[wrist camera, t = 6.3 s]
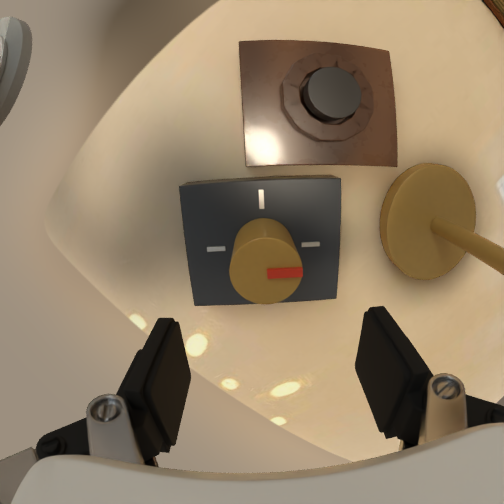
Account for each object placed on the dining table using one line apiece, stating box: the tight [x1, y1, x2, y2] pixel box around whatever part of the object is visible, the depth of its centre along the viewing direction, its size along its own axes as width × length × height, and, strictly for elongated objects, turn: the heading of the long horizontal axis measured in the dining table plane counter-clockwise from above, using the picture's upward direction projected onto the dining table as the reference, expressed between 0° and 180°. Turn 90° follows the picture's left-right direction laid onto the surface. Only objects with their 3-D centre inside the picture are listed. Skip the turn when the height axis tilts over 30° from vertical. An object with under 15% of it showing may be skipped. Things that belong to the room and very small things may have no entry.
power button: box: [303, 67, 361, 121], centre depth 16 cm, size 4×4×2 cm
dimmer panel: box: [179, 176, 341, 306], centre depth 23 cm, size 12×10×3 cm
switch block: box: [239, 40, 397, 167], centre depth 19 cm, size 12×10×4 cm
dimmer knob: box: [229, 218, 303, 304], centre depth 19 cm, size 4×4×5 cm
